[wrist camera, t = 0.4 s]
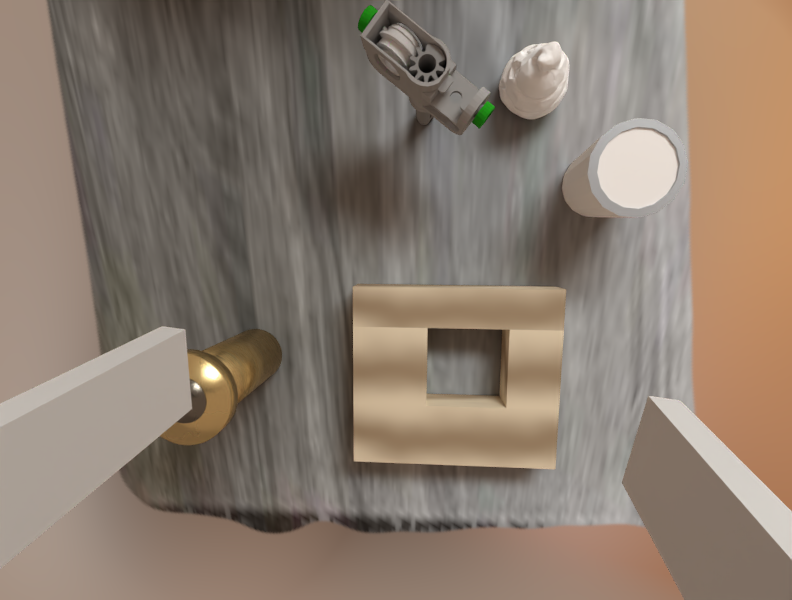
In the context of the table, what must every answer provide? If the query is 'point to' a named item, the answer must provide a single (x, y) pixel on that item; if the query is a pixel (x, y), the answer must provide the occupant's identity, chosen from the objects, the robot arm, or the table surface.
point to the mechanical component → (422, 70)
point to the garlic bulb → (535, 80)
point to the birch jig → (449, 413)
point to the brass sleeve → (224, 383)
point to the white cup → (627, 171)
